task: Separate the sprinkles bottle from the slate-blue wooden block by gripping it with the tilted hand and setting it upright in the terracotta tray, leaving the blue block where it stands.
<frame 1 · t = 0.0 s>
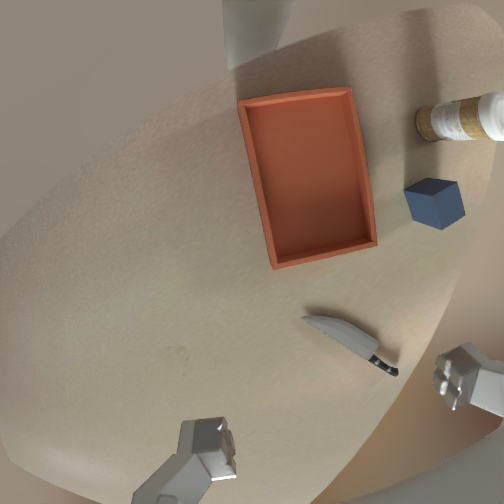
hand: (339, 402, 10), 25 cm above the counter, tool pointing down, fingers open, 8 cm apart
chef's knife: (360, 341, 38), on the counter
sprinkles bottle: (427, 124, 31), on the counter
blue block: (420, 198, 33), on the counter
tray: (308, 174, 32), on the counter
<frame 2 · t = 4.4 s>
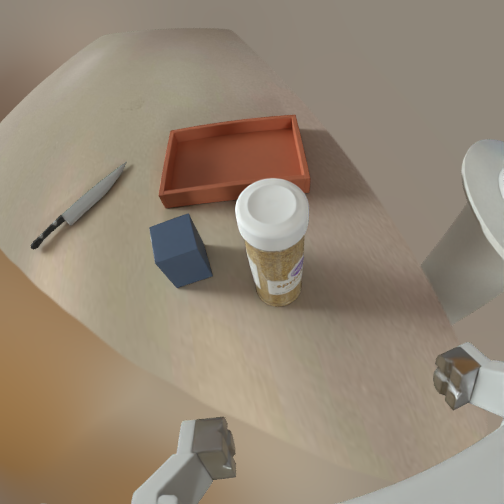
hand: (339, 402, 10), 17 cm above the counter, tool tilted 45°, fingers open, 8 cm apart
chef's knife: (81, 210, 38), on the counter
sprinkles bottle: (278, 286, 30), on the counter
blue block: (190, 265, 32), on the counter
tray: (234, 163, 38), on the counter
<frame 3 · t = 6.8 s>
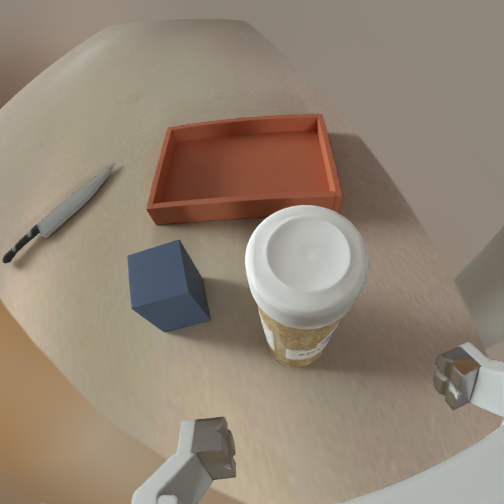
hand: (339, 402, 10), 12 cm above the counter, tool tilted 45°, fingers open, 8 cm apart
chef's knife: (59, 220, 31), on the counter
sprinkles bottle: (296, 338, 23), on the counter
blue block: (182, 303, 25), on the counter
tray: (245, 171, 31), on the counter
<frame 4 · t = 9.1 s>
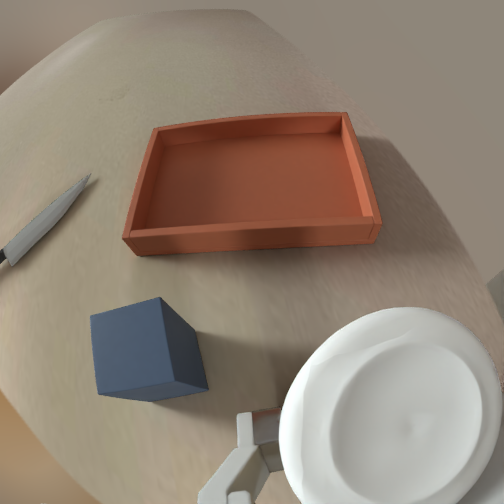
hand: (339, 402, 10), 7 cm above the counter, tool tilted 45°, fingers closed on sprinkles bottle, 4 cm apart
chef's knife: (27, 244, 24), on the counter
sprinkles bottle: (320, 413, 16), on the counter, touching gripper
blue block: (171, 366, 18), on the counter
tray: (251, 185, 24), on the counter
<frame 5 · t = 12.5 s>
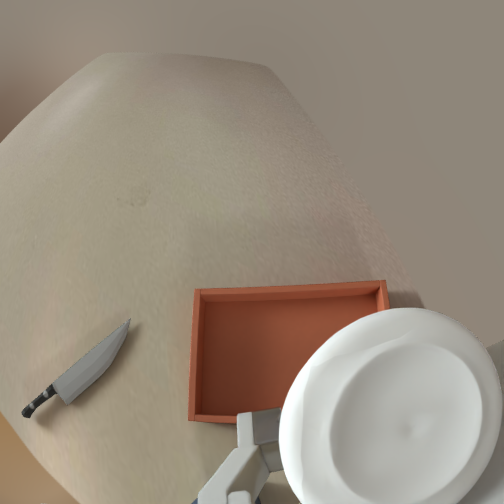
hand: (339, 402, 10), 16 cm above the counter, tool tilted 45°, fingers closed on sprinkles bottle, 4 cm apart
chef's knife: (77, 382, 26), on the counter
sprinkles bottle: (321, 414, 16), point 9 cm above the counter, touching gripper
tray: (293, 356, 26), on the counter
when the fingers open (8 cm above the counter, at t = 16.0 s): sprinkles bottle stays where it is, resting on tray.
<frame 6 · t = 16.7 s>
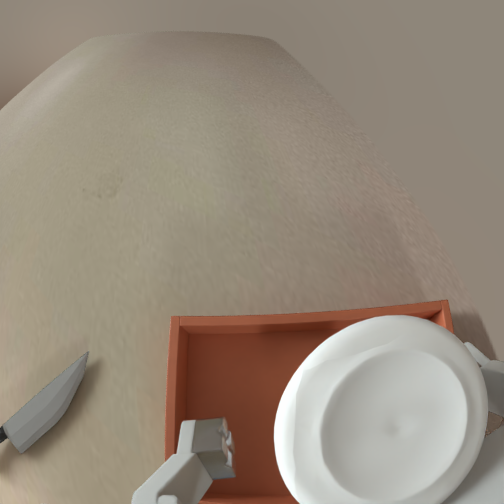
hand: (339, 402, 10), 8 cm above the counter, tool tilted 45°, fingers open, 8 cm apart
chef's knife: (30, 427, 17), on the counter
sprinkles bottle: (319, 414, 16), resting on tray
tray: (318, 413, 17), on the counter
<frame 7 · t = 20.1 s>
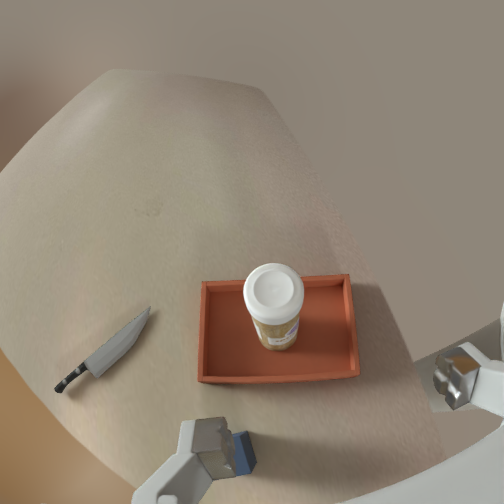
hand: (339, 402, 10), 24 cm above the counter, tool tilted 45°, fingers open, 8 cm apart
chef's knife: (105, 359, 35), on the counter
sprinkles bottle: (277, 332, 34), resting on tray
blue block: (234, 450, 29), on the counter
tray: (277, 333, 35), on the counter
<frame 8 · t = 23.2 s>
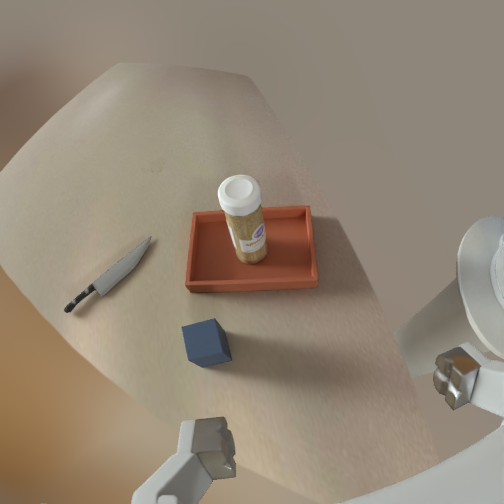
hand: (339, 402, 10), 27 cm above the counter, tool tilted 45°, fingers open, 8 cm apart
chef's knife: (111, 281, 44), on the counter
sprinkles bottle: (252, 251, 44), resting on tray
blue block: (213, 349, 38), on the counter
tray: (252, 252, 44), on the counter
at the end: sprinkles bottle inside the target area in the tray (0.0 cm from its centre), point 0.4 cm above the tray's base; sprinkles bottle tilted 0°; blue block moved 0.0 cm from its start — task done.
